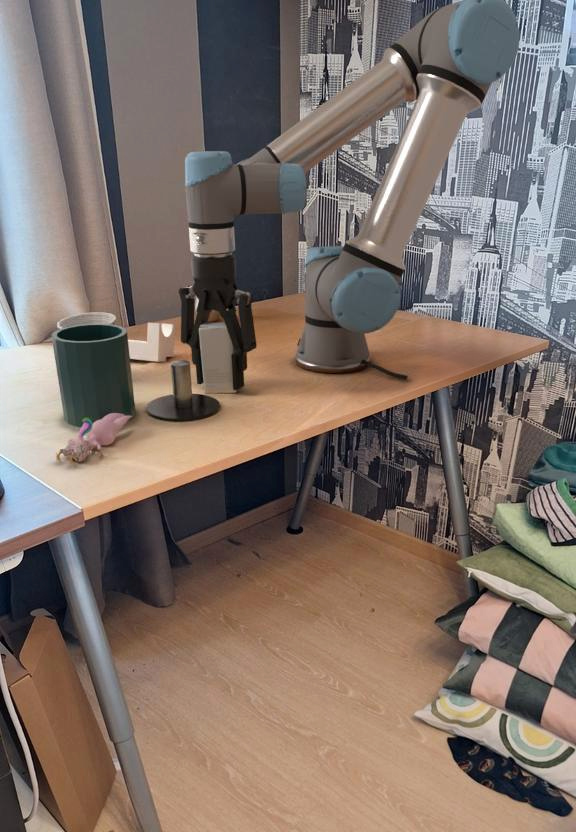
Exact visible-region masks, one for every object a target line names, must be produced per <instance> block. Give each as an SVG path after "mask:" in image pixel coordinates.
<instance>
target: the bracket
mask: <svg viewBox="0 0 576 832" xmlns="http://www.w3.org/2000/svg"><path fill="white" fill-rule="evenodd" d="M175 330H176V325H175V324H173V323H160V322H147V331H146V332H147V333H146V334H147V335H146V337H147V338H146V340H136V339H128V346H129V355H130V360H138V361H147V362H157V363H159V362H160V363H161V362H167V358H168V357H174V356H175V355H174V354H175Z"/></svg>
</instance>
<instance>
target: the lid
mask: <svg viewBox="0 0 576 832" xmlns="http://www.w3.org/2000/svg"><path fill="white" fill-rule="evenodd" d="M170 372H171V373H170V374H171V386H172V394H168V395H163V396H159V397H157V398H155V399H152V400H151V401H150V402H148V403H147V404H146V407H145V409H146V413H147V415H148V416H150V417H151V418H154V419H157V420H160V421H167V422H193V421H198V420H203V419H206V418H209V417H212V416H214V415H215V414H216V413H219V411H220V410H221V403H220V401H219V400H218V399H217V398H215V397H212V396H210V395H206V394H201V393H193V390H192V373H191V362H190V361H189V360H185V359H179V360H178V359H177V360H173V361H170Z"/></svg>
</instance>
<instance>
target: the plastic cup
mask: <svg viewBox="0 0 576 832" xmlns="http://www.w3.org/2000/svg"><path fill="white" fill-rule="evenodd" d="M116 322H117V318H116V315H115V314H112V313H110V312H102V311H99V312H98V311H97V312H96V311H94V312H93V311H92V312H84V313H79V314H78V313H77V314H74V315H70V316H67V317H65V318H62V319H60V320H59V321H57V323H56V328H57V329H58V330H59V329H62V328H65V327H69V326H75V325H83V324H112V325H116V324H115V323H116Z"/></svg>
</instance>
